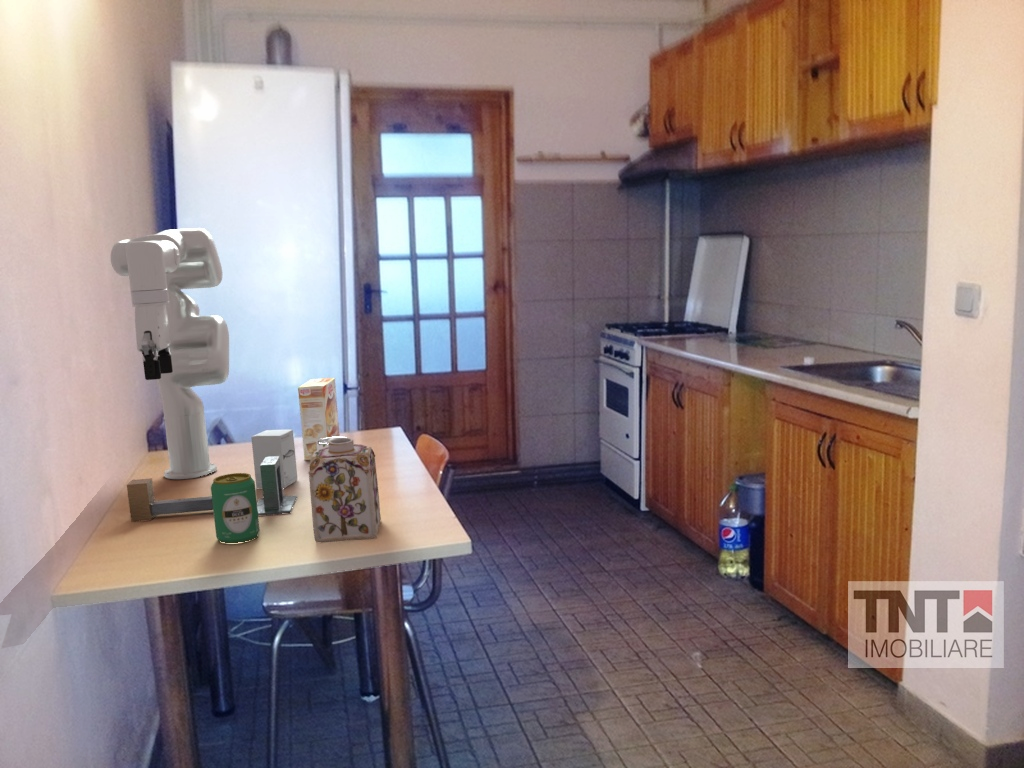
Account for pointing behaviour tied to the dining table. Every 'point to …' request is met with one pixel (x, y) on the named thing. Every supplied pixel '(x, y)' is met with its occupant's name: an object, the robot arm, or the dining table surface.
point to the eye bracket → (273, 489)
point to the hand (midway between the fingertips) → (159, 376)
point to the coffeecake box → (318, 412)
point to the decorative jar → (344, 492)
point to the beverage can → (235, 508)
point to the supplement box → (275, 453)
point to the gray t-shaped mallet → (159, 502)
